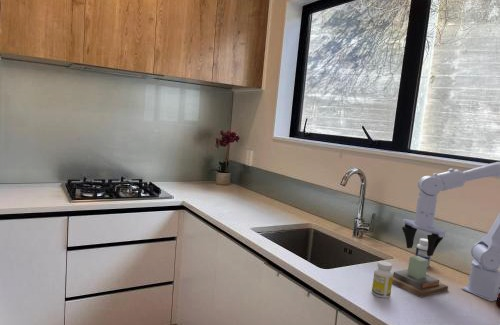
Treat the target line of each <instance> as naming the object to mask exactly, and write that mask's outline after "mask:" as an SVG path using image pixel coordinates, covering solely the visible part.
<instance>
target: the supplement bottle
mask: <svg viewBox="0 0 500 325" xmlns="http://www.w3.org/2000/svg"><path fill="white" fill-rule="evenodd" d="M392 268H393V264H392V263H391V262H388V261H384V260H380V261H378V262H377V267H376V268H375V269H374V272H373V279H372V286H371V294H373V295H374V296H376V297H378V298H384V299H389V298H390V297H391V294H392V285H393V283H392V280H393V273H394V271H392Z"/></svg>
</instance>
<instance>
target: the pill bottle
mask: <svg viewBox="0 0 500 325" xmlns="http://www.w3.org/2000/svg"><path fill="white" fill-rule="evenodd" d="M418 242H419V243H417V245H416V247H415V248H416V249H415V255H414V256H419V257H422V258H424V259H427V260H428V265H427V268H428V267H430V264H431V259H432V256H427V249H428V238H424V237H422V238H419V240H418Z"/></svg>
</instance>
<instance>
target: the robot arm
mask: <svg viewBox="0 0 500 325" xmlns="http://www.w3.org/2000/svg"><path fill="white" fill-rule="evenodd" d="M447 170H448V171H445V172H441V173H437V172H435V173H433V174H432V175H433V176H431V175H424V176H422V177H421V178H420V179H419V180H418V181H417V187H418V189H419V190H418V196H417V202H416V208H415V214H414V220H411V219H407V218H403V219H402V224H401V225H403V226H402V227H401V230H402V232H403V234H404V238H405V242H406V249H412V248H413V246H414V239H415V236H416V233H417V230H418V231H419V230H420V231H421V232H426V233H429V234H427V239H428V249H427V256H431V257H432V256H433V255H434V253H435V250H436V249H437V247H438V245H439V244H440V243H441V241H443V239H444V238H446V230H444V229H440V228H439V227H436V226H434V222H435V221H434V220H435V214H436V208H437V201H438V194H440V192H444V191H448V190H452V189H457V188H460V187H463V186H464V184H465V183H466V182H468V181H474V180H480V179H484V178H488V177H489V178H490V177H498V178H500V161H496V162H490V163H488V164H485V165H484V164H483V166H482V165H481V166H478V167H474V168H471V169H468V170H464V171H461V170H460V169H454V168H448V169H447ZM470 255H471V256H472V257H473V259H472V261H471V265H470V266H471V267H470V270H469V271H470V272H469V276H468V283H467V285H466V286H462V287H461V290H463V291H466V292H469V293H470V294H472V295H475V296H477V297H480V298H482V299H484V300H487V301H489V302H494V301H497V297H498V294H499V293H500V271H499V270H498V269H499V268H500V212H499V213H498V215H497V217H496V219H495V220H494V222H493V224H492V225H491V227H490V228H489V230H488V231H487V234H485V235H484V236H482V237H480V239H479V241H477V242H476V243H475V244H474V245H472V247H471V248H470Z"/></svg>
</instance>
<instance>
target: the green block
mask: <svg viewBox="0 0 500 325" xmlns="http://www.w3.org/2000/svg"><path fill="white" fill-rule="evenodd" d="M427 265H428V260H427V259H424V258H422V257H419V256H415V255H414V256H409V261H408V266H407V267H408V268H407V269H408V273H407V275H410V276H412V277H414V278H416V279H421V278H426V274H427V270H428V267H427Z"/></svg>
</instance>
